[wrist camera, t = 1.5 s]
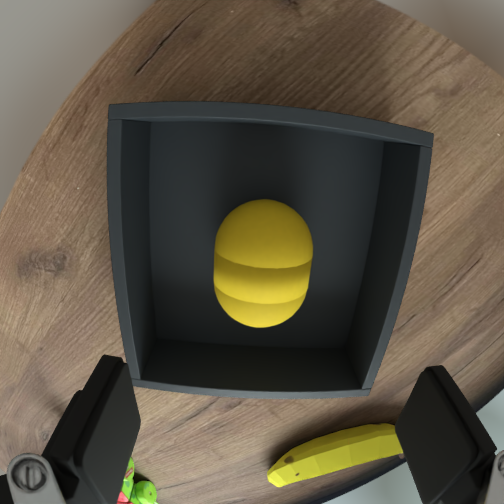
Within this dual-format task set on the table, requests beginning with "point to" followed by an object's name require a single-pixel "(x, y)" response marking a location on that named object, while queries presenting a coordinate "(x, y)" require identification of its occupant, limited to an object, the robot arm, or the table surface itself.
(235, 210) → the yellow rounded tiered object
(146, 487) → the toy crocodile
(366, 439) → the banana
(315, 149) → the crate
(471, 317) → the table surface
